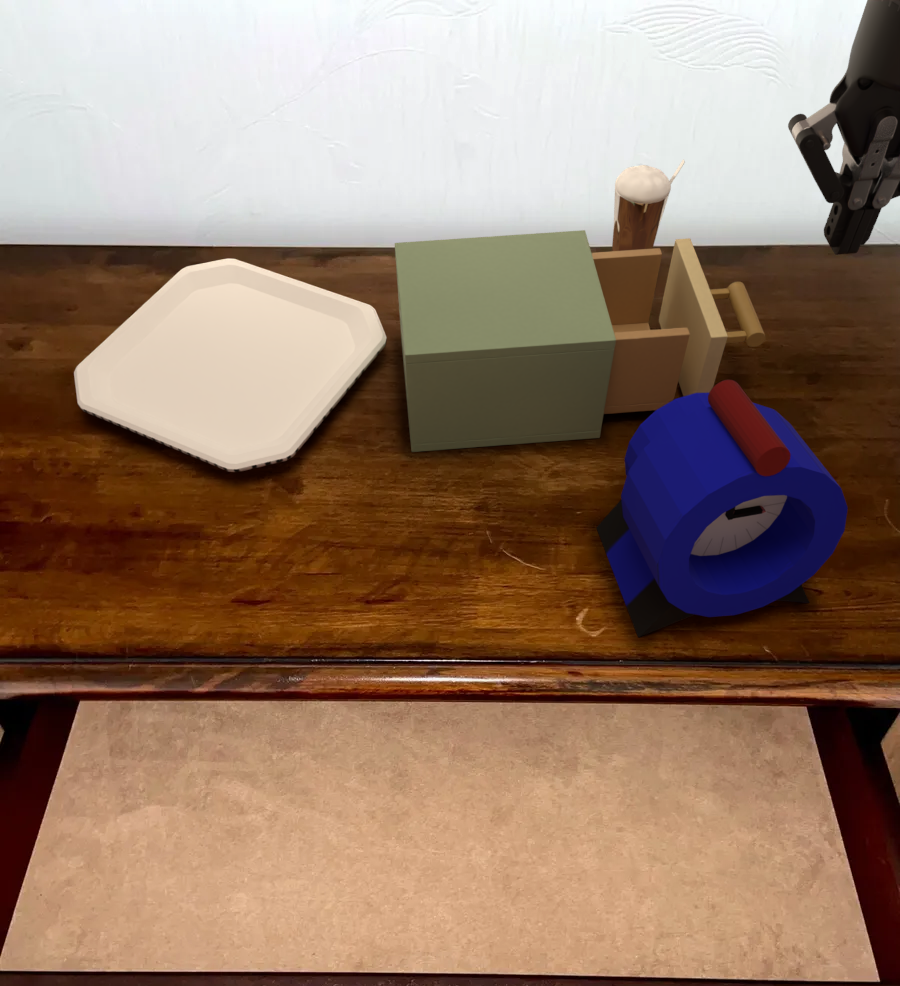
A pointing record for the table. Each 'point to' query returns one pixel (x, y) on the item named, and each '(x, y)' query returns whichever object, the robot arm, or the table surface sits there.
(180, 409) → the plate
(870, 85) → the robot arm
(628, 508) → the alarm clock
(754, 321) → the drawer
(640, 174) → the milkshake
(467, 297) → the cabinet
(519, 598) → the table surface
